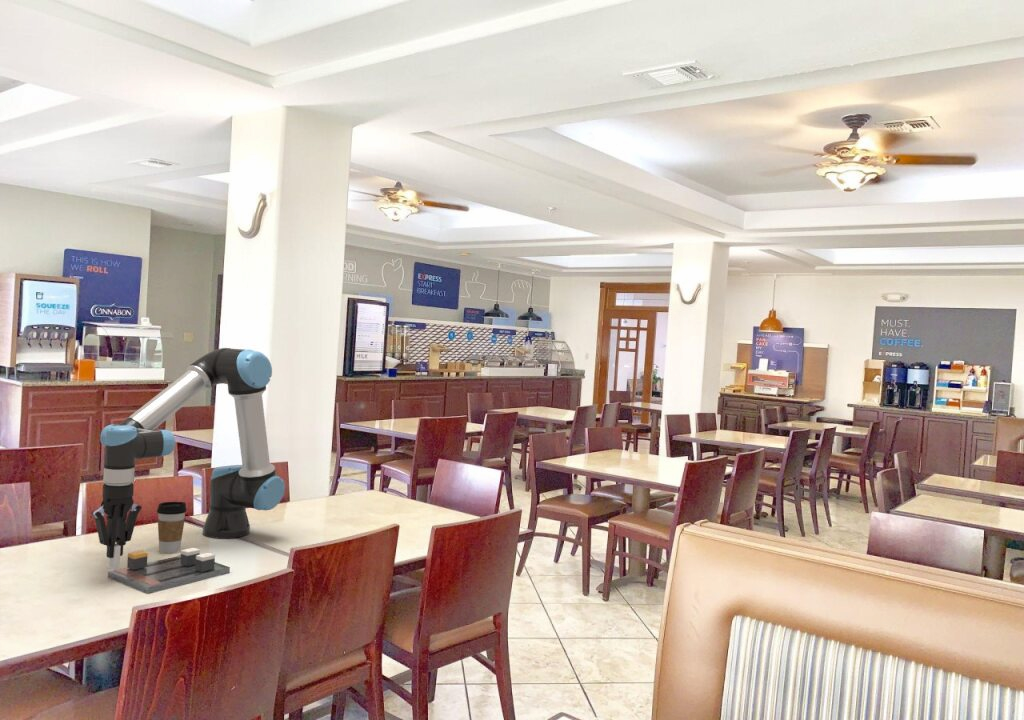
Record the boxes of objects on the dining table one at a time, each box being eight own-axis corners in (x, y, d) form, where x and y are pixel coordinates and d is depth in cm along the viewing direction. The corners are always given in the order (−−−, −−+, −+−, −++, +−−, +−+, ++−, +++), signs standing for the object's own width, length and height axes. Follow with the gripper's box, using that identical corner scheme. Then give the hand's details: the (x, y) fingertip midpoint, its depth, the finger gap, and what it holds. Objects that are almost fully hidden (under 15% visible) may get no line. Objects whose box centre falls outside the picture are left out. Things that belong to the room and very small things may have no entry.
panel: (189, 558, 231) (189, 553, 231) (229, 572, 220) (229, 566, 220) (107, 577, 210) (108, 571, 210) (147, 593, 199) (148, 587, 199)
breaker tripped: (140, 564, 217) (141, 550, 216) (146, 566, 215) (147, 552, 215) (127, 567, 213) (128, 553, 213) (133, 569, 212) (134, 555, 211)
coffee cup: (173, 556, 232) (175, 507, 232) (148, 552, 234) (151, 504, 233) (190, 549, 240) (192, 501, 240) (166, 545, 242) (168, 498, 242)
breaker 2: (207, 566, 219) (208, 552, 219) (214, 568, 217) (215, 554, 217) (195, 569, 215) (196, 555, 215) (201, 571, 214) (202, 557, 214)
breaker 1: (192, 561, 223) (193, 547, 222) (199, 563, 221) (199, 549, 221) (180, 564, 219) (181, 550, 219) (186, 566, 218) (187, 552, 217)
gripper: (133, 477, 215) (129, 560, 216) (87, 483, 204) (82, 570, 205) (149, 482, 211) (144, 566, 212) (102, 488, 200) (97, 577, 201)
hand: (114, 568), depth 208 cm, fingers closed
